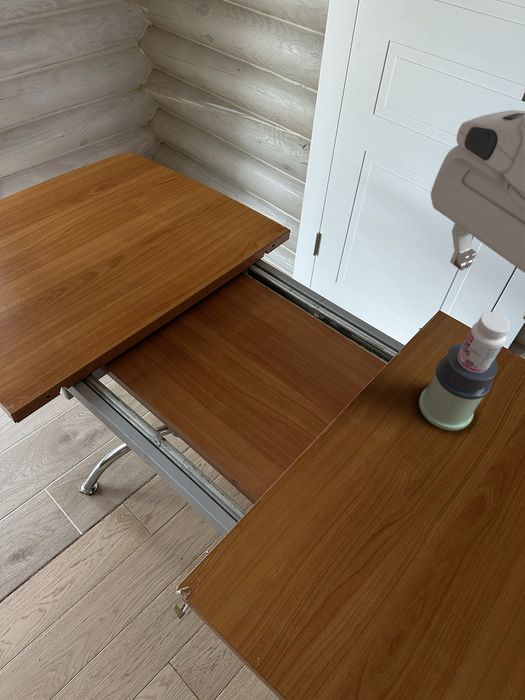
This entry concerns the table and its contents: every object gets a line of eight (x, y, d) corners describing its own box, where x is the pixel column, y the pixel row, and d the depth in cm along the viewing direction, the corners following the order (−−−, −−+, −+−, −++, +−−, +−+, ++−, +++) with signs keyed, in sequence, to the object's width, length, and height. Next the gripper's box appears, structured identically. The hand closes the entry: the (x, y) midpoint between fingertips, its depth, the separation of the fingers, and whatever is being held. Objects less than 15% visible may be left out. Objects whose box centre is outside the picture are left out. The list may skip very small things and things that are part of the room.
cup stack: (483, 416, 85) (515, 369, 76) (445, 439, 81) (474, 393, 72) (444, 379, 90) (470, 331, 81) (407, 399, 86) (430, 351, 77)
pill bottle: (449, 354, 77) (470, 313, 71) (474, 346, 79) (497, 306, 72) (469, 377, 74) (493, 337, 68) (495, 369, 76) (521, 329, 69)
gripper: (717, 219, 37) (606, 349, 47) (494, 104, 48) (444, 230, 58) (670, 243, 34) (564, 375, 44) (446, 116, 45) (402, 245, 55)
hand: (494, 292), depth 51 cm, fingers open, 8 cm apart
